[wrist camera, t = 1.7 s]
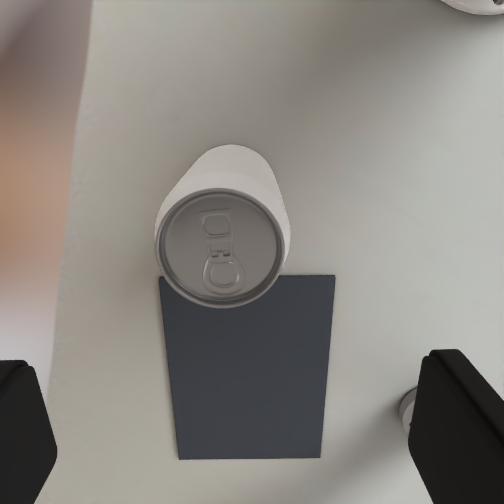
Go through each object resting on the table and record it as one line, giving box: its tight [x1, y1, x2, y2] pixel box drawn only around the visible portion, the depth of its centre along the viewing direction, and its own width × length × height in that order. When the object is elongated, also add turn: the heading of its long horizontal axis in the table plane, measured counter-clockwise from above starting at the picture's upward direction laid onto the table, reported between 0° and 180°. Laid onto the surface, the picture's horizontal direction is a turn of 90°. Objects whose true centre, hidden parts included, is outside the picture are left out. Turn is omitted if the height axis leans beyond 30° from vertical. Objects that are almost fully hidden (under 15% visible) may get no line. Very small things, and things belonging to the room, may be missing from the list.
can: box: [155, 145, 290, 308], centre depth 22 cm, size 6×6×12 cm
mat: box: [159, 275, 336, 460], centre depth 34 cm, size 20×14×1 cm
